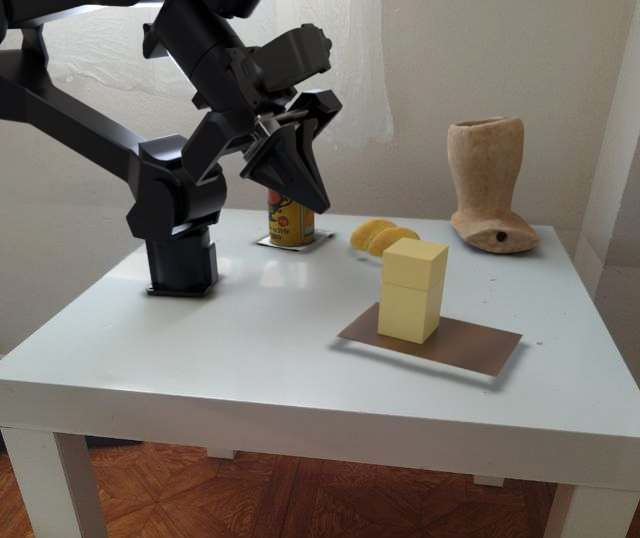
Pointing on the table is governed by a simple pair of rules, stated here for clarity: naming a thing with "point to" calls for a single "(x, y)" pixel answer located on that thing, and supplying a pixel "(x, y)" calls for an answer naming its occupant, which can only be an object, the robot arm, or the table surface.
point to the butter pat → (414, 263)
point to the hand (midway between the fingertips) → (325, 210)
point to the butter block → (409, 311)
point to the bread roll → (379, 236)
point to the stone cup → (488, 183)
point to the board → (442, 342)
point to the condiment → (290, 223)
